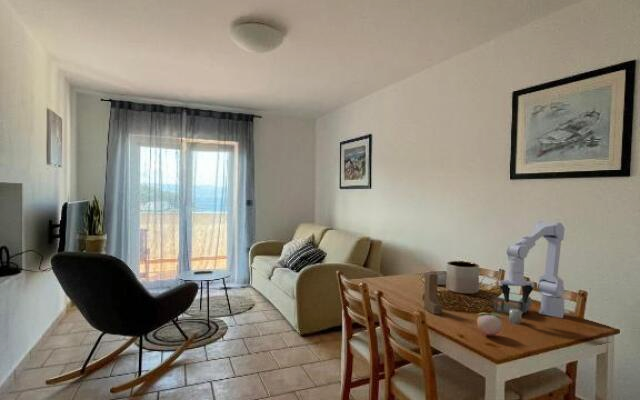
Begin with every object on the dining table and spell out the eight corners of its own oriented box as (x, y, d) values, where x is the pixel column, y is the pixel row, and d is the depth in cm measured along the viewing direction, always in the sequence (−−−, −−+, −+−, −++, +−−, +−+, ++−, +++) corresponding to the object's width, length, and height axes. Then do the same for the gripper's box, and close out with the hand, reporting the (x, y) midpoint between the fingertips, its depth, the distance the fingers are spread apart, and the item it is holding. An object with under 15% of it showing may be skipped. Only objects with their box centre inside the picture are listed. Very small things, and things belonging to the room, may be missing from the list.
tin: (450, 284, 220) (451, 271, 220) (452, 286, 217) (452, 272, 217) (426, 283, 222) (426, 270, 221) (427, 285, 218) (427, 271, 218)
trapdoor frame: (527, 309, 174) (527, 295, 174) (520, 317, 163) (521, 302, 163) (501, 304, 182) (502, 291, 182) (494, 311, 171) (494, 297, 170)
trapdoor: (530, 306, 172) (531, 296, 172) (525, 312, 163) (526, 302, 163) (503, 300, 180) (504, 292, 180) (497, 306, 171) (497, 297, 171)
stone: (522, 321, 158) (522, 310, 158) (520, 324, 154) (520, 313, 154) (510, 318, 161) (510, 308, 161) (507, 321, 158) (508, 310, 157)
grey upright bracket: (442, 314, 166) (443, 276, 166) (434, 314, 165) (434, 276, 165) (432, 307, 175) (432, 271, 175) (423, 308, 174) (424, 272, 174)
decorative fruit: (480, 339, 138) (480, 314, 138) (474, 331, 146) (475, 307, 146) (505, 341, 137) (506, 315, 136) (499, 333, 145) (499, 309, 144)
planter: (458, 295, 196) (459, 267, 196) (440, 287, 213) (440, 261, 213) (485, 293, 201) (486, 266, 201) (465, 285, 218) (465, 260, 218)
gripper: (528, 270, 161) (527, 299, 161) (495, 269, 162) (495, 298, 162) (537, 273, 154) (536, 304, 154) (502, 272, 155) (501, 303, 155)
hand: (515, 301), depth 158 cm, fingers open, 7 cm apart
